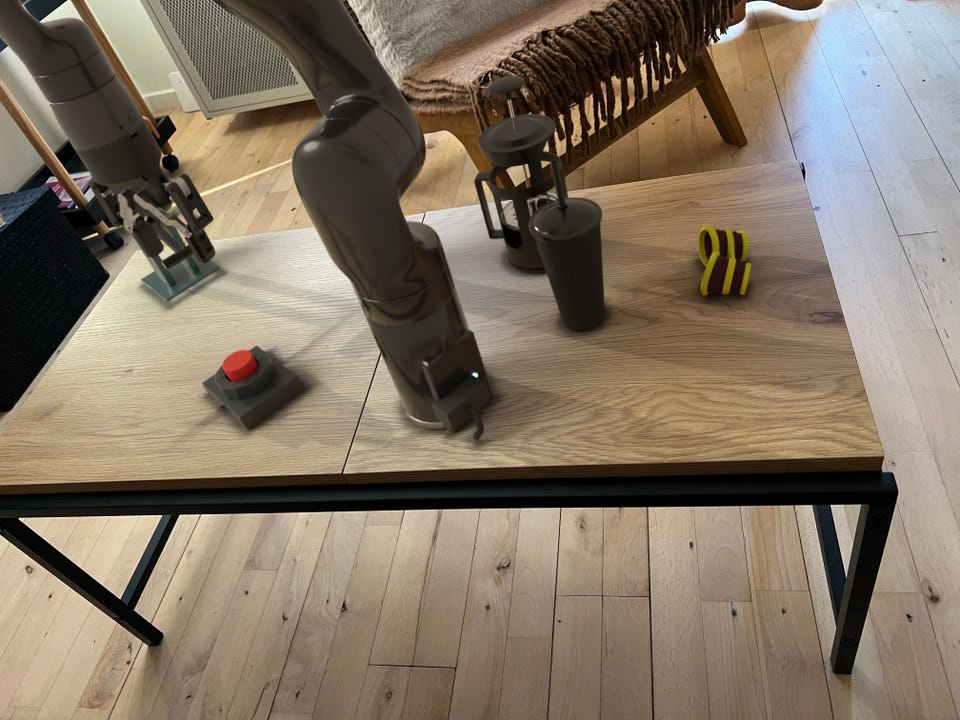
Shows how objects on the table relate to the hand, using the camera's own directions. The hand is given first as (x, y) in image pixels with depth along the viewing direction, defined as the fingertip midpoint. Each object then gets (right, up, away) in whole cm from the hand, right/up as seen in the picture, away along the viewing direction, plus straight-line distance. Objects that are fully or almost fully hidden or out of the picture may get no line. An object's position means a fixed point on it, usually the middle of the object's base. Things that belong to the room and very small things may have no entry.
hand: (182, 256), depth 91 cm
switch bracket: (-10, 0, +27) cm, 29 cm away
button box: (+8, -16, +2) cm, 18 cm away
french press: (+42, +2, +10) cm, 44 cm away
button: (+7, -13, 0) cm, 15 cm away
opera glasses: (+63, -3, -2) cm, 63 cm away
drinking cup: (+47, -7, -2) cm, 47 cm away
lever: (-10, +5, +19) cm, 22 cm away
